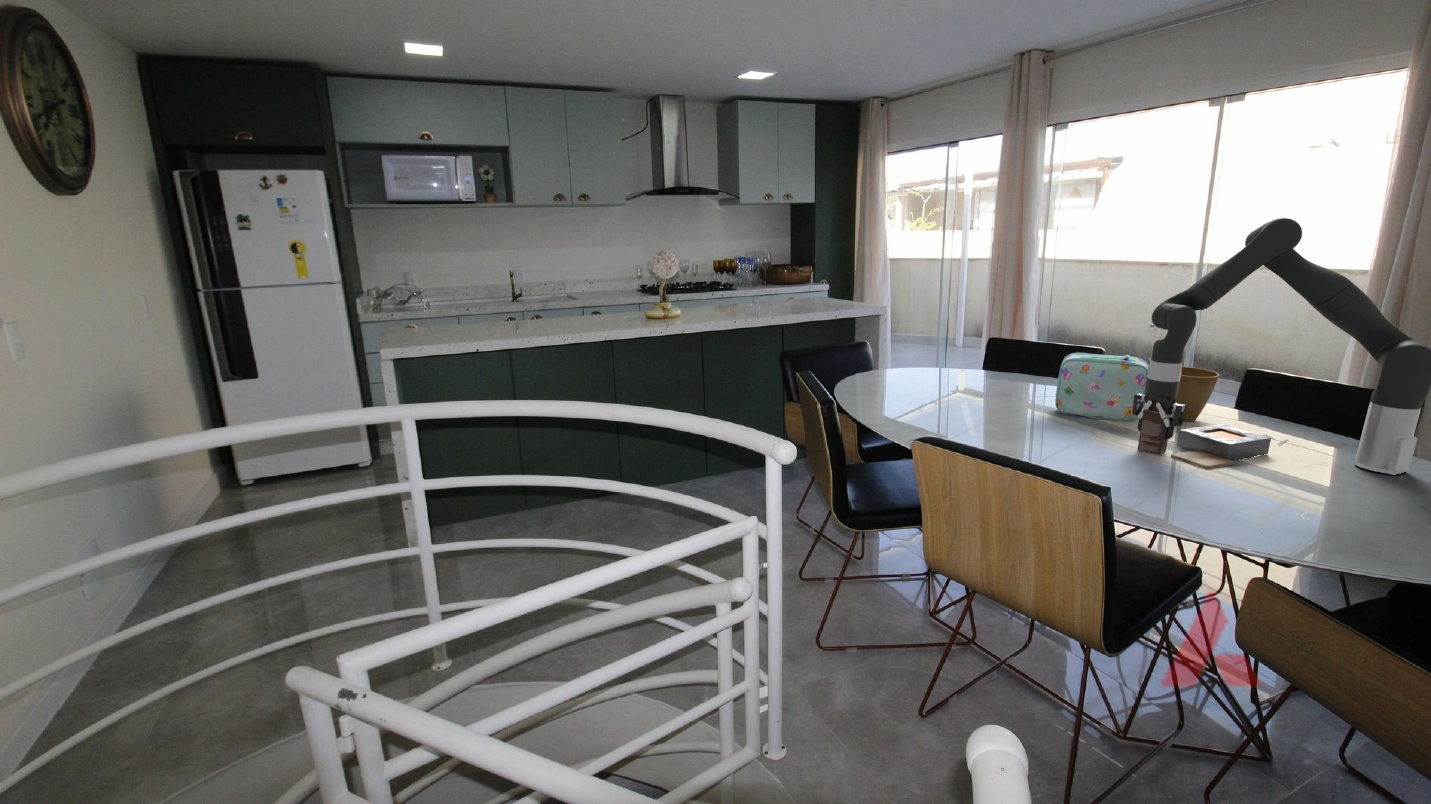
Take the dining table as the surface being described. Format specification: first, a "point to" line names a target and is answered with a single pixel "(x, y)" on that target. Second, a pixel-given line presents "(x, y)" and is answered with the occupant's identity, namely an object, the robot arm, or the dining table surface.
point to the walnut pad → (1202, 459)
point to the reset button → (1224, 435)
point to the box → (1152, 433)
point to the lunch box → (1100, 385)
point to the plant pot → (1195, 390)
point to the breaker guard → (1223, 442)
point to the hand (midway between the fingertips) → (1153, 435)
